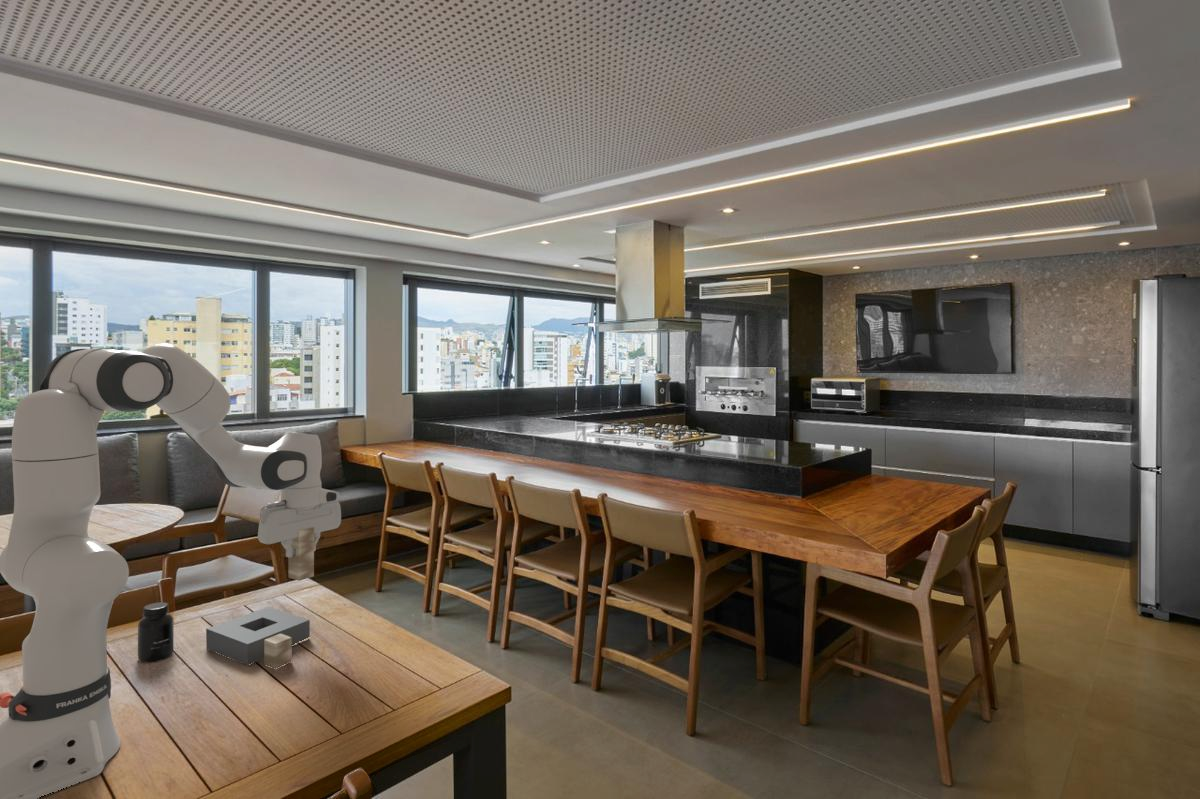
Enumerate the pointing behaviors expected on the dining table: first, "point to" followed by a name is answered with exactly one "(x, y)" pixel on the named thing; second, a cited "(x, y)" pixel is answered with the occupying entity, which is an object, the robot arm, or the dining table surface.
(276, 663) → the short pin
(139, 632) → the supplement bottle
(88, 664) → the robot arm
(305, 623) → the socket block
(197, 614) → the dining table surface
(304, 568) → the tall pin
